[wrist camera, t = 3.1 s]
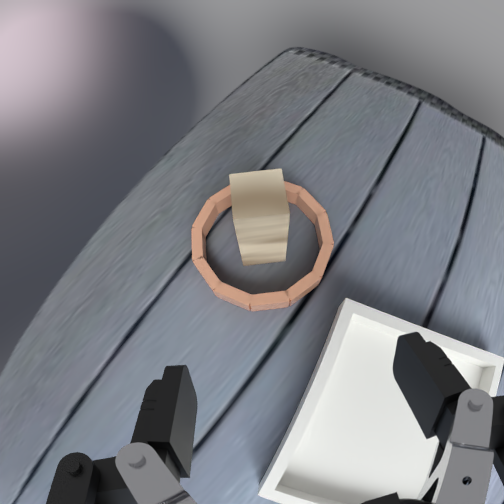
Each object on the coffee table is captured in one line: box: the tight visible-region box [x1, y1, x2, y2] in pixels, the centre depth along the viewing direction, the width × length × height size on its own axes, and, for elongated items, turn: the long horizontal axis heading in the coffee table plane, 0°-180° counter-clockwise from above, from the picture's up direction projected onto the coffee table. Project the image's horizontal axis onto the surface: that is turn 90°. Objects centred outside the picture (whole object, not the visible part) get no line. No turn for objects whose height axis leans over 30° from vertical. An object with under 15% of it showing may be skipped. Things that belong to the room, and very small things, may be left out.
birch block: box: [229, 169, 290, 266], centre depth 27 cm, size 4×4×9 cm
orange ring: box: [191, 181, 334, 311], centre depth 30 cm, size 13×13×2 cm
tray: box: [258, 298, 504, 504], centre depth 22 cm, size 18×18×3 cm
